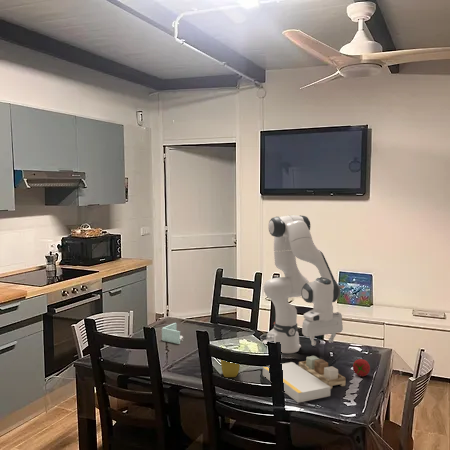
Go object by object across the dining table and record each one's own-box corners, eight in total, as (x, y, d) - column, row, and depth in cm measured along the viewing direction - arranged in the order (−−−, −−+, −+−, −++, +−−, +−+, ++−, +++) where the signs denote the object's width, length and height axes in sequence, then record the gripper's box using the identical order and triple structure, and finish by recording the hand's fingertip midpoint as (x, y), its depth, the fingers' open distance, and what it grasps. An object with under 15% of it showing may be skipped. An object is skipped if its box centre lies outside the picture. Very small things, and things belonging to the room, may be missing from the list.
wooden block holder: (298, 369, 237) (298, 354, 236) (314, 367, 240) (314, 351, 240) (328, 389, 215) (329, 372, 214) (345, 386, 219) (345, 369, 218)
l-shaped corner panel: (179, 345, 270) (179, 331, 269) (161, 341, 276) (161, 328, 275) (191, 339, 280) (191, 326, 279) (175, 335, 286) (175, 322, 285)
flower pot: (219, 371, 232) (219, 353, 231) (238, 371, 233) (238, 353, 232) (220, 379, 224) (221, 360, 223) (240, 379, 224) (240, 359, 223)
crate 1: (306, 365, 235) (306, 356, 234) (313, 364, 236) (314, 355, 236) (311, 369, 231) (311, 360, 230) (319, 367, 232) (319, 358, 232)
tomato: (363, 354, 233) (358, 356, 226) (375, 367, 229) (371, 369, 223) (351, 365, 235) (346, 367, 228) (363, 378, 232) (359, 381, 225)
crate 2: (323, 377, 222) (324, 367, 221) (331, 375, 223) (332, 366, 223) (329, 380, 218) (330, 371, 217) (337, 379, 219) (338, 369, 219)
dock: (262, 375, 229) (262, 366, 228) (292, 370, 235) (292, 361, 235) (297, 402, 201) (298, 392, 201) (330, 395, 208) (330, 386, 208)
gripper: (337, 310, 232) (336, 338, 233) (300, 314, 223) (299, 344, 224) (346, 313, 226) (345, 342, 227) (308, 318, 217) (307, 348, 219)
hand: (322, 343), depth 226 cm, fingers open, 8 cm apart
